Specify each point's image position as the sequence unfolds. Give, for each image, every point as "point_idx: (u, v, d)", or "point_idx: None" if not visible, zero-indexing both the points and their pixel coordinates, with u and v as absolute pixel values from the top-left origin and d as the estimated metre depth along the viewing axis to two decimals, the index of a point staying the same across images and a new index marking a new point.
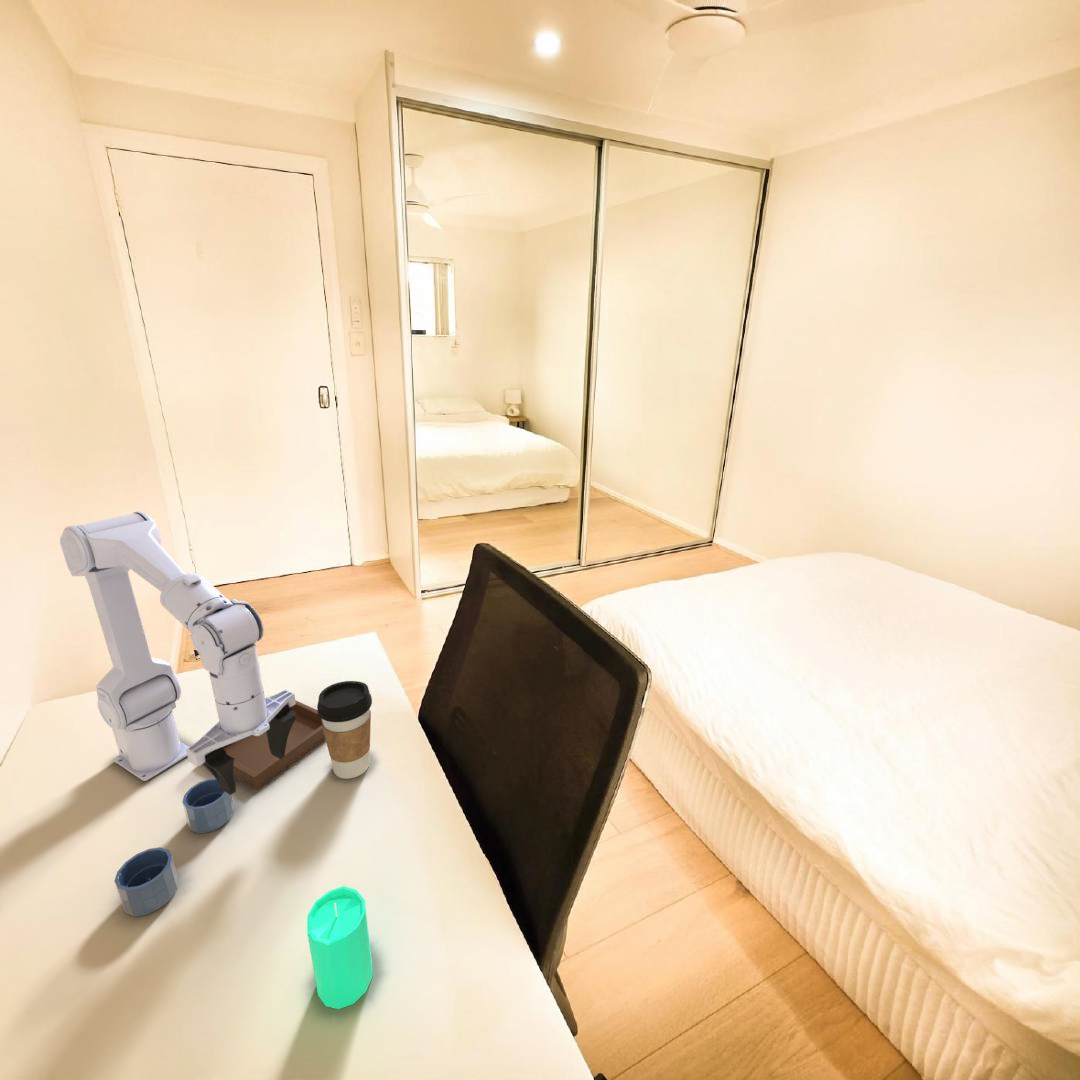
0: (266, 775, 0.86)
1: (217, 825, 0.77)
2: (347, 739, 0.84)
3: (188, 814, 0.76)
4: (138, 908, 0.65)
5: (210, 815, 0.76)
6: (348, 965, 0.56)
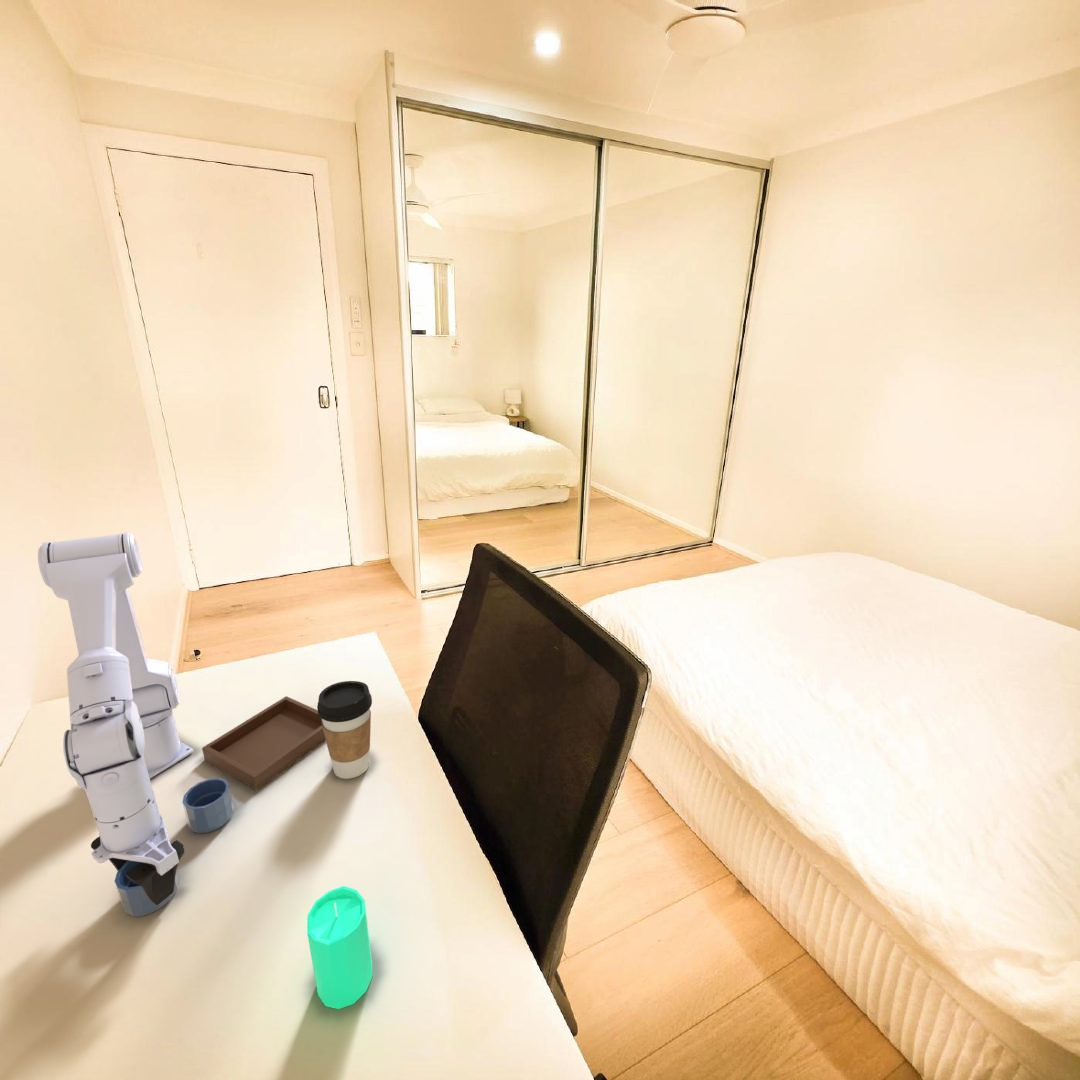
0: (266, 775, 0.86)
1: (217, 825, 0.77)
2: (347, 739, 0.84)
3: (188, 814, 0.76)
4: (138, 908, 0.65)
5: (210, 815, 0.76)
6: (348, 965, 0.56)
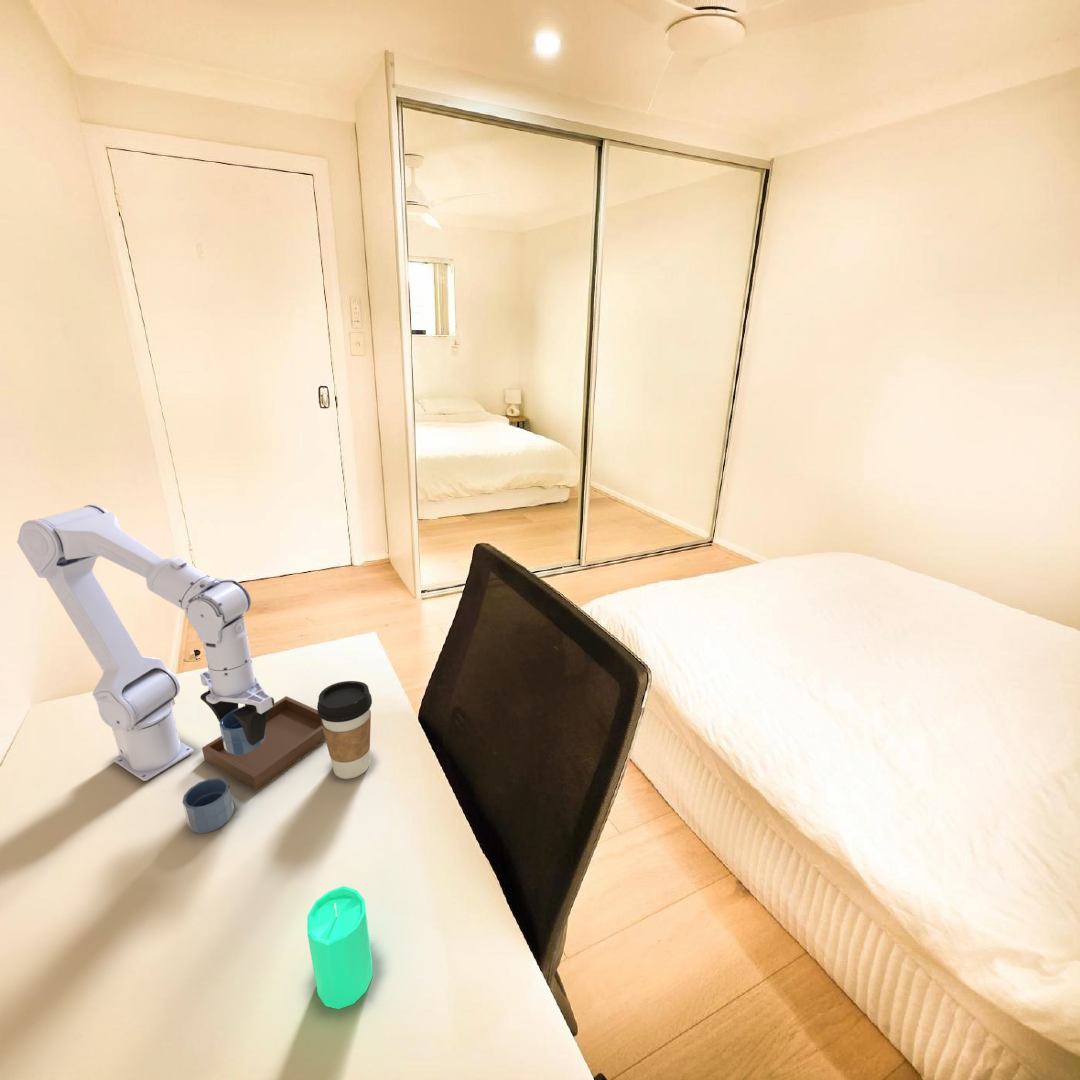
0: (266, 775, 0.86)
1: (217, 825, 0.77)
2: (347, 739, 0.84)
3: (188, 814, 0.76)
4: (238, 747, 0.82)
5: (210, 815, 0.76)
6: (348, 965, 0.56)
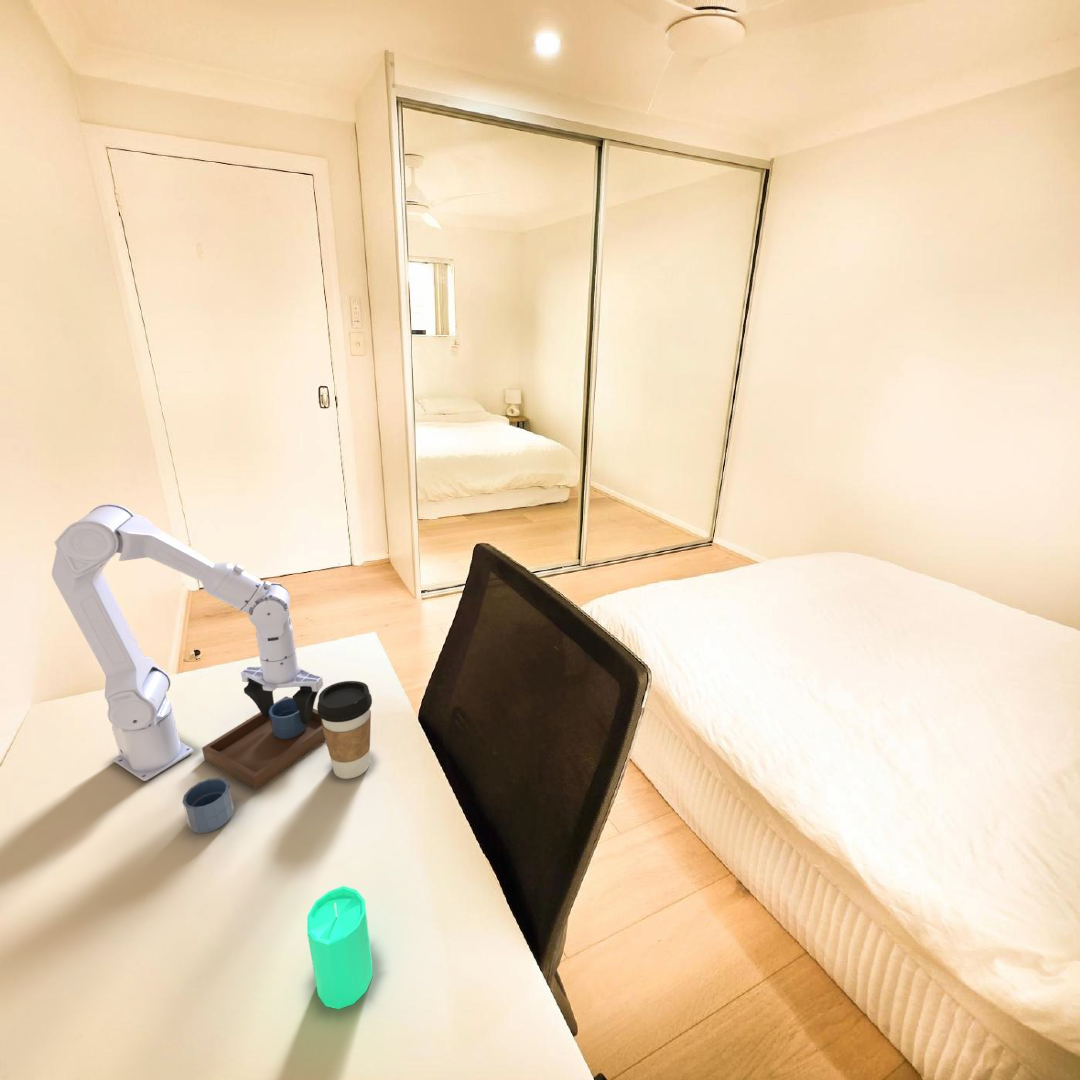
0: (266, 775, 0.86)
1: (217, 825, 0.77)
2: (347, 739, 0.84)
3: (188, 814, 0.76)
4: (291, 731, 0.95)
5: (210, 815, 0.76)
6: (348, 965, 0.56)
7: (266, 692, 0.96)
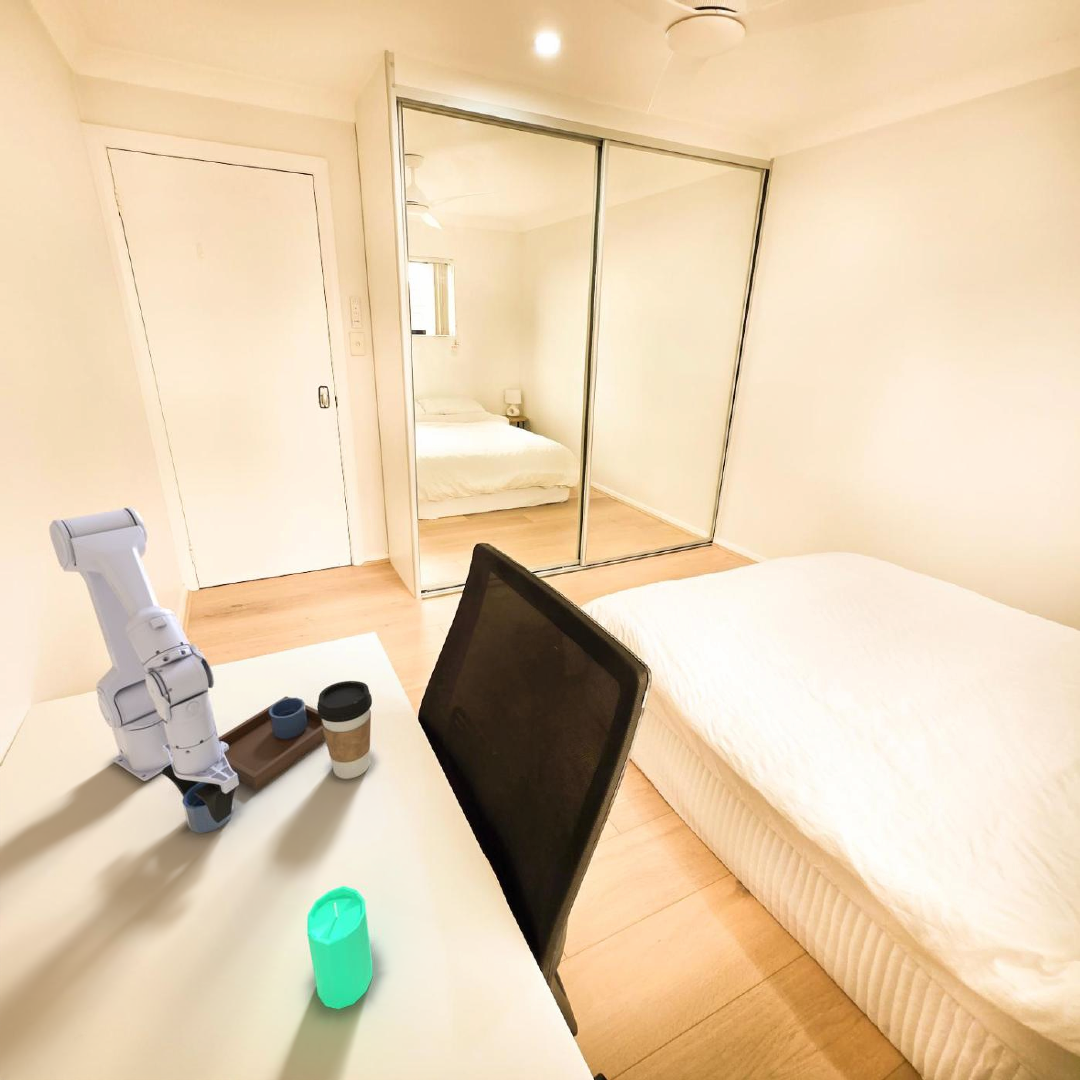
0: (266, 775, 0.86)
1: (217, 825, 0.77)
2: (347, 739, 0.84)
3: (188, 814, 0.76)
4: (291, 731, 0.95)
5: (210, 815, 0.76)
6: (348, 965, 0.56)
7: None
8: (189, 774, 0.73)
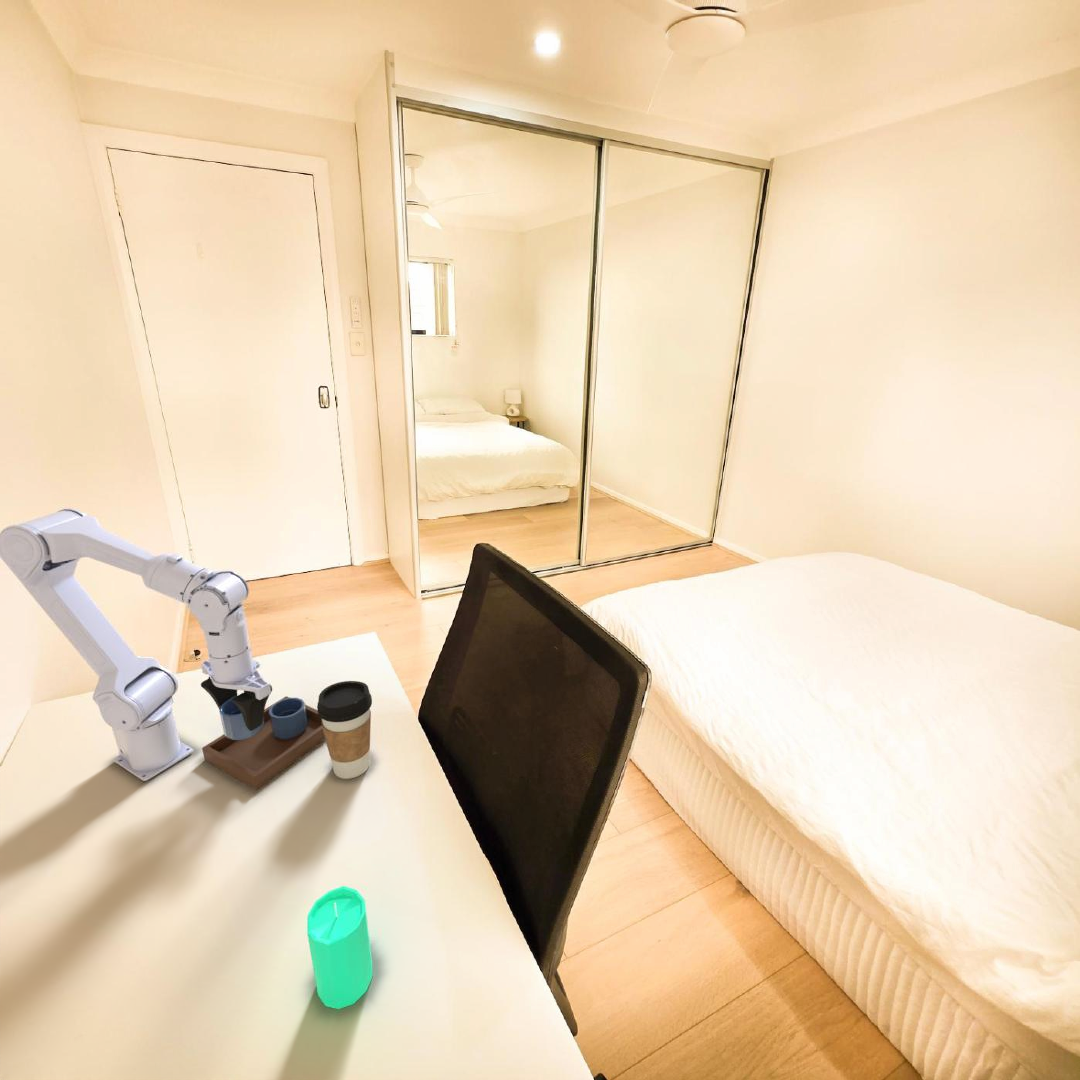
0: (266, 775, 0.86)
1: (250, 733, 0.86)
2: (347, 739, 0.84)
3: (224, 722, 0.84)
4: (291, 731, 0.95)
5: (244, 723, 0.85)
6: (348, 965, 0.56)
7: None
8: (227, 683, 0.82)
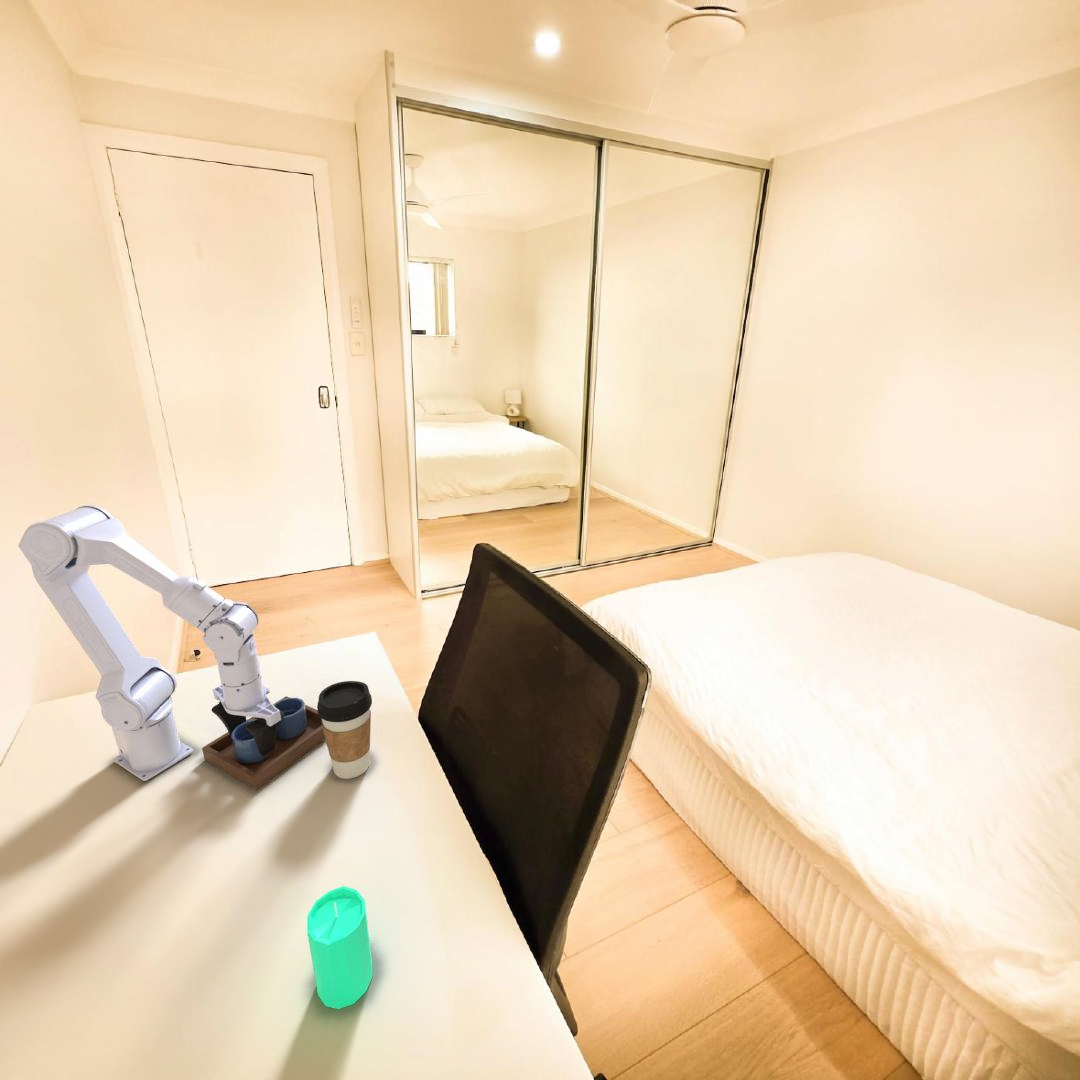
0: (266, 775, 0.86)
1: (261, 757, 0.90)
2: (347, 739, 0.84)
3: (236, 747, 0.88)
4: (291, 731, 0.95)
5: (255, 748, 0.88)
6: (348, 965, 0.56)
7: None
8: (238, 710, 0.85)
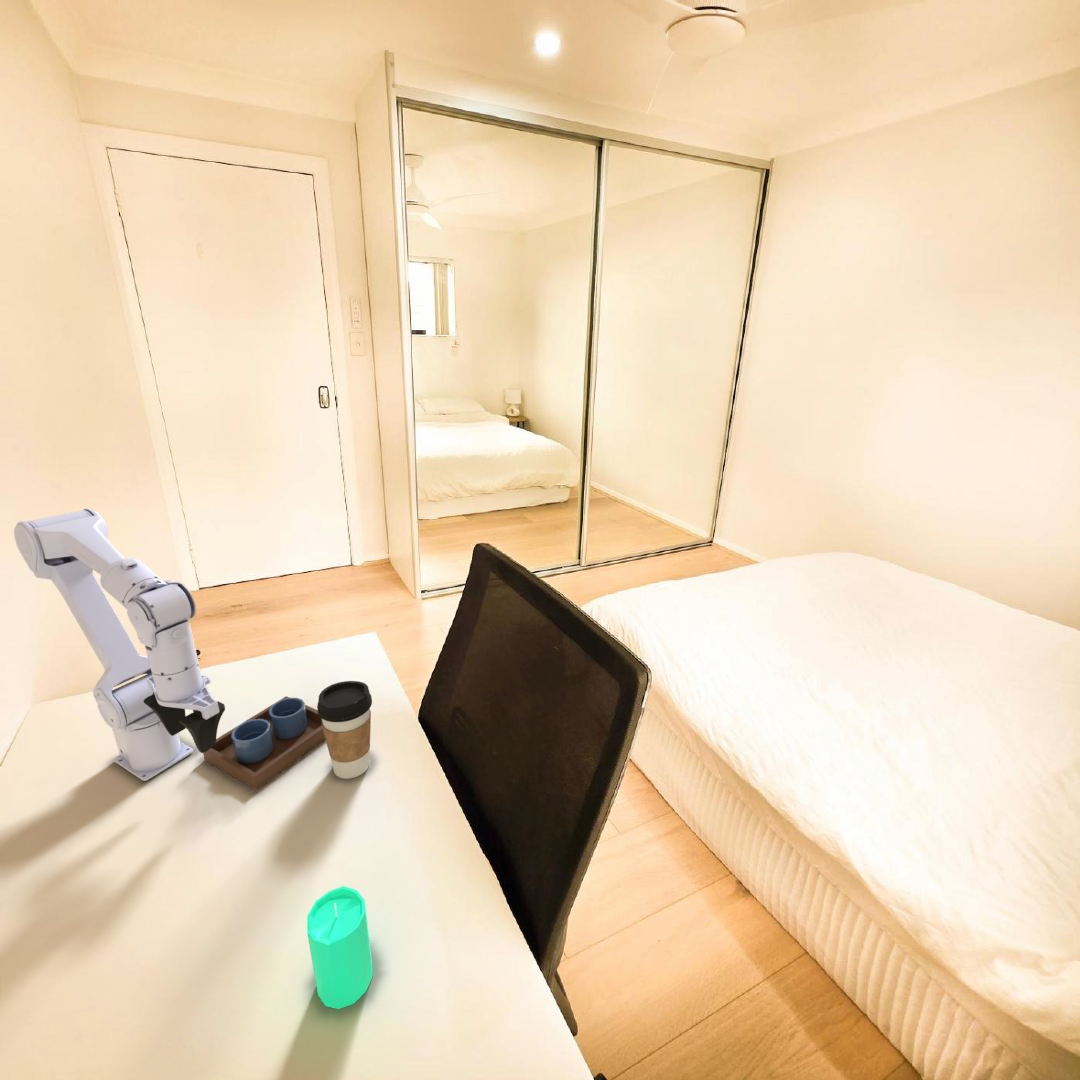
0: (266, 775, 0.86)
1: (261, 757, 0.90)
2: (347, 739, 0.84)
3: (236, 747, 0.88)
4: (291, 731, 0.95)
5: (255, 748, 0.88)
6: (348, 965, 0.56)
7: None
8: (171, 701, 0.76)
